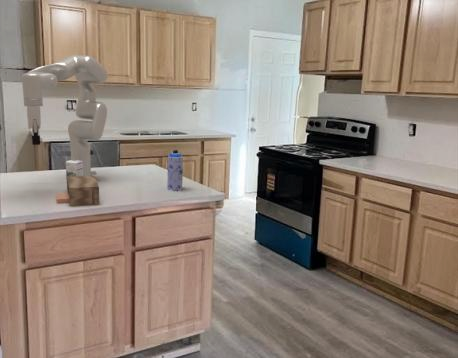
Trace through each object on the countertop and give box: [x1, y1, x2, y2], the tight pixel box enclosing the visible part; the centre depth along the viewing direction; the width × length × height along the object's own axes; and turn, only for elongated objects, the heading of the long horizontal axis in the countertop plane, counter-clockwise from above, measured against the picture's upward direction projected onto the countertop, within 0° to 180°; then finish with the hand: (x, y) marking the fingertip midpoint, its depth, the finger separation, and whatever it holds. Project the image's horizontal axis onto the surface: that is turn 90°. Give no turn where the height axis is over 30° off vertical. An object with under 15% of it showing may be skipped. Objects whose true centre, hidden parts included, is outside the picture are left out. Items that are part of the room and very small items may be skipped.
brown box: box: [66, 175, 100, 207], centre depth 199 cm, size 12×22×8 cm, turn 22°
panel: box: [55, 192, 70, 205], centre depth 198 cm, size 14×10×2 cm
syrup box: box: [65, 159, 83, 192], centre depth 212 cm, size 6×6×14 cm
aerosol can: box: [166, 149, 184, 192], centre depth 223 cm, size 8×8×20 cm
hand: (36, 144), depth 196 cm, fingers closed
